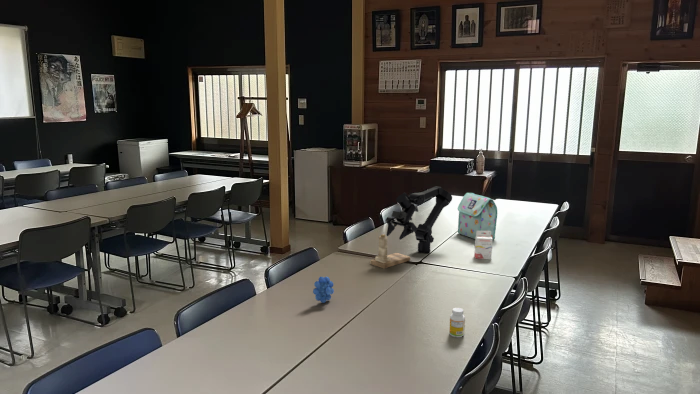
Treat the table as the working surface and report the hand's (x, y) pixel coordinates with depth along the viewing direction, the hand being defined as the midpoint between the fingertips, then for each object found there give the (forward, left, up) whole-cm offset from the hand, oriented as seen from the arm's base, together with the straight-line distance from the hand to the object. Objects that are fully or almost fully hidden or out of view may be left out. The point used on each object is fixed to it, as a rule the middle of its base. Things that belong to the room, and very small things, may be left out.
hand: (393, 237), depth 268 cm
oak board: (+1, +2, -13) cm, 13 cm away
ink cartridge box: (-47, -17, -13) cm, 52 cm away
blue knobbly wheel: (+20, +63, -13) cm, 67 cm away
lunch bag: (-44, -61, -13) cm, 77 cm away
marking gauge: (+4, +7, -11) cm, 14 cm away
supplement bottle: (-35, +80, -13) cm, 88 cm away
